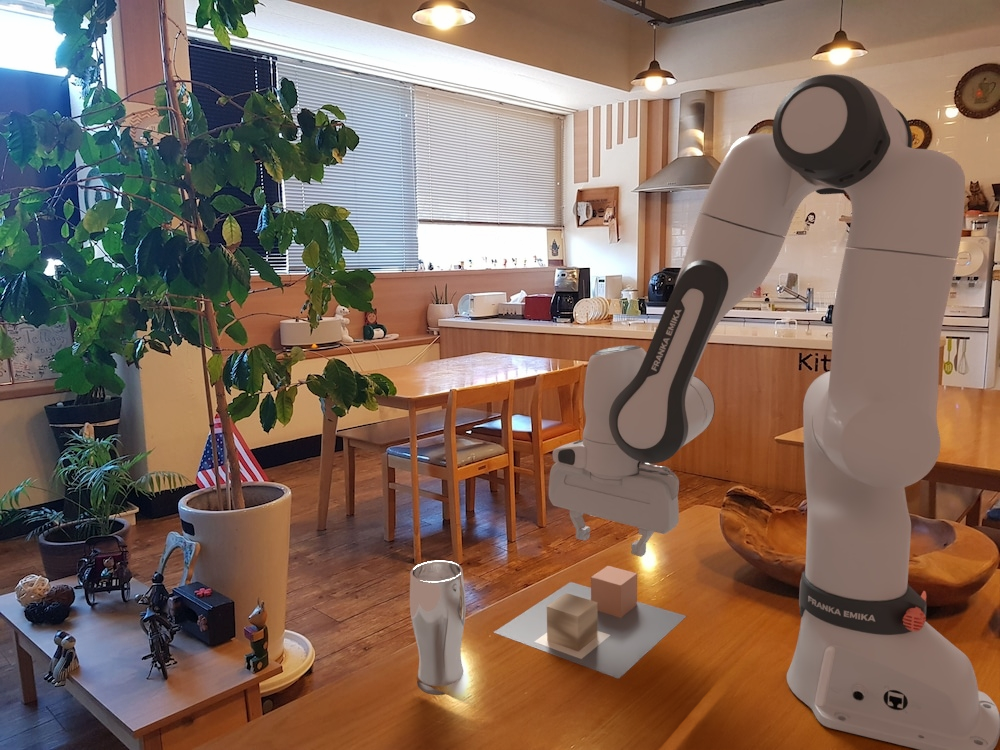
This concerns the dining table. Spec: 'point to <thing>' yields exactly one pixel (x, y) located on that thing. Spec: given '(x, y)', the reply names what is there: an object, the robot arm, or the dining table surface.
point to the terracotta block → (614, 591)
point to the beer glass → (438, 622)
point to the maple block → (572, 621)
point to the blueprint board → (616, 636)
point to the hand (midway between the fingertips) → (609, 546)
